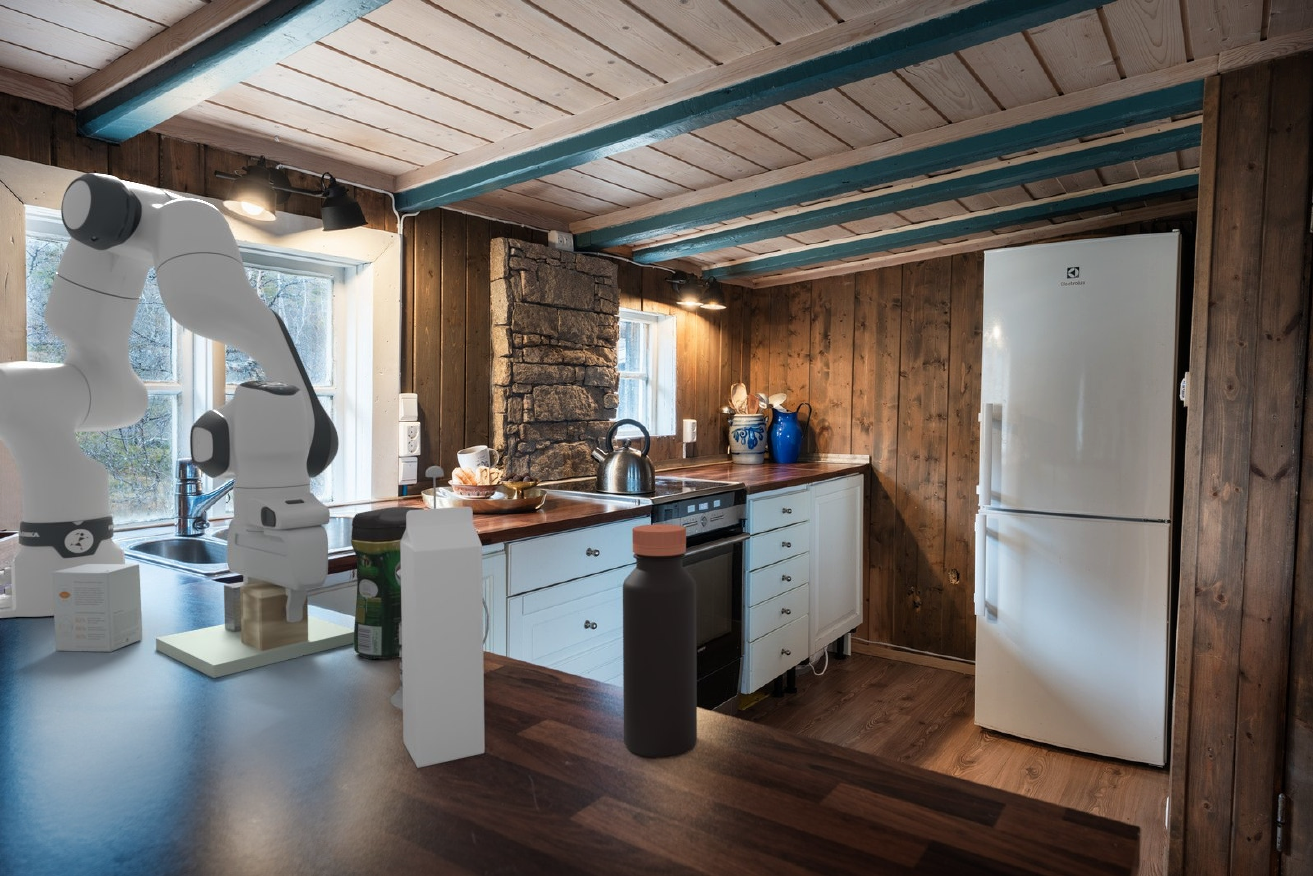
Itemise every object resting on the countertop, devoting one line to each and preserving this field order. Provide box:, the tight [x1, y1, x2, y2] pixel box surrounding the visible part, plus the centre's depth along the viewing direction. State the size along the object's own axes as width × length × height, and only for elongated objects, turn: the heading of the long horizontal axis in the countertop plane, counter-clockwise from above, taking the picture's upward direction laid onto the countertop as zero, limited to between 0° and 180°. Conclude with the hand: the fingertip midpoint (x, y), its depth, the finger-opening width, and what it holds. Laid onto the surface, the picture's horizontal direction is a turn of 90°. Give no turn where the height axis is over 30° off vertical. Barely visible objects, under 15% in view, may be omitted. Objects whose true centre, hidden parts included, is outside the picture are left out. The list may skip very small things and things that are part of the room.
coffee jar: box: [350, 506, 424, 660], centre depth 100 cm, size 10×8×19 cm
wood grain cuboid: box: [240, 581, 309, 651], centre depth 99 cm, size 6×6×7 cm
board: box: [155, 614, 354, 679], centre depth 102 cm, size 18×18×2 cm
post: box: [223, 581, 244, 632], centre depth 105 cm, size 3×3×8 cm
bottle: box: [622, 523, 698, 759], centre depth 71 cm, size 7×7×20 cm
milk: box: [400, 506, 485, 769], centre depth 70 cm, size 6×6×22 cm
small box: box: [52, 563, 143, 653], centre depth 103 cm, size 8×6×10 cm
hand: (275, 615), depth 99 cm, fingers open, 8 cm apart
